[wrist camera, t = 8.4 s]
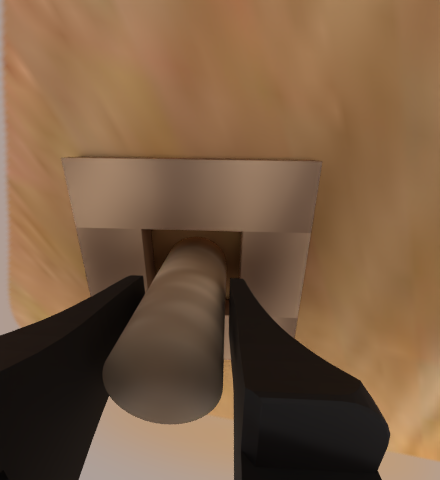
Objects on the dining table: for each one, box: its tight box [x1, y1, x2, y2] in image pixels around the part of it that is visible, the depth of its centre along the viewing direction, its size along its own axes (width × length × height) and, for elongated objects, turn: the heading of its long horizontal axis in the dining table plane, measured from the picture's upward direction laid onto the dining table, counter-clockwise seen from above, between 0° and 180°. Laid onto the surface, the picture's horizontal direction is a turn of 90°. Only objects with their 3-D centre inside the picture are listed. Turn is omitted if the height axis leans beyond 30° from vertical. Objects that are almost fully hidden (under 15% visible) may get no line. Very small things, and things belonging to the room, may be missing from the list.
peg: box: [102, 237, 227, 424], centre depth 11 cm, size 4×4×8 cm
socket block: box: [61, 157, 322, 360], centre depth 14 cm, size 12×12×2 cm
